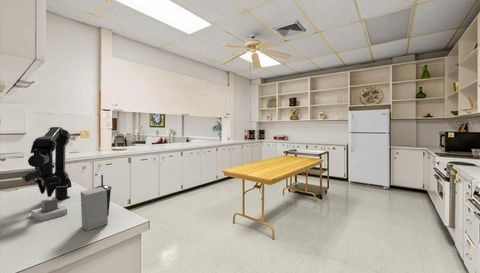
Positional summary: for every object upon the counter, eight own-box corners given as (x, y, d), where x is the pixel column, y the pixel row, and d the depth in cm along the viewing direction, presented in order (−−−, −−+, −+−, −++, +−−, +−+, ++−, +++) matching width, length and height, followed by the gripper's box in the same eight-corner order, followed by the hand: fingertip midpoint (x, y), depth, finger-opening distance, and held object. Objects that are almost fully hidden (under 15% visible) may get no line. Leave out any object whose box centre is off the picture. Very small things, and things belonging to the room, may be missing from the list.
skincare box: (102, 220, 99) (102, 186, 98) (108, 225, 94) (108, 189, 94) (80, 227, 92) (79, 190, 92) (85, 232, 88) (85, 193, 87)
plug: (41, 215, 104) (41, 200, 103) (54, 211, 108) (54, 197, 107) (44, 217, 101) (44, 201, 101) (57, 213, 106) (57, 198, 105)
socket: (31, 215, 103) (31, 209, 103) (57, 209, 112) (57, 203, 112) (40, 221, 97) (40, 214, 97) (67, 214, 106) (67, 207, 105)
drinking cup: (89, 217, 102) (88, 175, 101) (105, 212, 109) (105, 172, 108) (98, 221, 98) (98, 177, 97) (115, 215, 105) (114, 174, 104)
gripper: (16, 164, 104) (17, 196, 105) (29, 168, 94) (30, 203, 95) (46, 161, 114) (46, 190, 114) (60, 164, 104) (61, 197, 104)
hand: (45, 195), depth 107 cm, fingers open, 9 cm apart
